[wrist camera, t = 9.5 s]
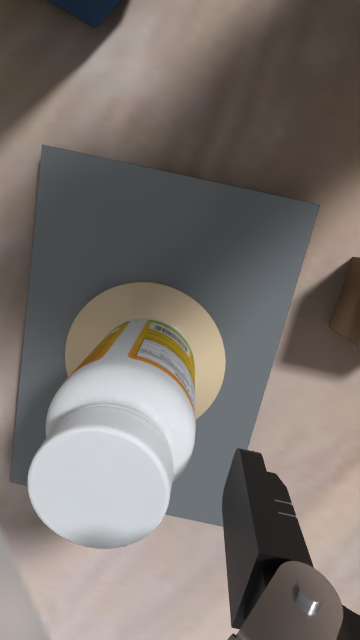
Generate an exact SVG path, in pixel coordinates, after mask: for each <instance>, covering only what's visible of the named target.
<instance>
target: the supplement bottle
mask: <svg viewBox="0 0 360 640" xmlns="http://www.w3.org/2000/svg"><path fill="white" fill-rule="evenodd" d="M195 431H196V417H195V363H194V356H193V353H192V350H191V348H190V346H189V344H188V342H187V340H186V339H185V338H184V336H183V335H182V334H181V333H180V332H179V331H178V330H177V329H175V328H174V327H173V326H171V325H169V324H167V323H165V322H163V321H160V320H157V319H152V318H137V319H132V320H129V321H126V322H124V323H122V324H120V325H118V326H117V327H115V328H114V329H113V330H111V331H110V332H109V333H108V334H107V335H106V336H105V337H104V339H103V340H102V341H101V342H100V343H99V344H98V345H97V346H96V348H95V349H94V350H93V351H92V352H91V353H90V354H89V355H88V356H87V357H86V358H85V360H83V362H82V363H81V364H80V365H79V366H78V367H77V368H76V369H75V371H74V372H72V374H71V375H70V376H69V377H68V378H67V379H66V381H65V382H64V383H63V385H62V386H61V387H60V389H59V390H58V391H57V393H56V394H55V396H54V398H53V400H52V402H51V404H50V406H49V409H48V413H47V418H46V439H45V441H44V442H43V443H42V445H41V446H40V448H39V449H38V451H37V452H36V454H35V456H34V457H33V459H32V462H31V465H30V467H29V472H28V481H27V484H28V494H29V498H30V500H31V503H32V506H33V508H34V510H35V511H36V513H37V515H38V516H39V517H40V519H41V520H42V521H43V522H44V523H45V524H46V525H47V526H48V527H49V528H50V529H51V530H52V531H54V532H55V533H56V534H58V535H59V536H61V537H63V538H64V539H66V540H68V541H71V542H73V543H76V544H79V545H82V546H86V547H91V548H99V549H109V548H118V547H123V546H127V545H130V544H132V543H135V542H137V541H139V540H141V539H143V538H144V537H146V536H147V535H148V534H150V533H151V532H152V531H153V530H154V529H155V528H156V527H157V526H158V525H159V523H160V522H161V521H162V519H163V517H164V515H165V513H166V511H167V508H168V505H169V500H170V493H171V487H172V483H173V482H174V481H175V480H176V479H177V478H178V477H179V476H180V475H181V473H182V472H183V471H184V469H185V468H186V466H187V464H188V462H189V460H190V457H191V455H192V452H193V448H194V442H195Z"/></svg>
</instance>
